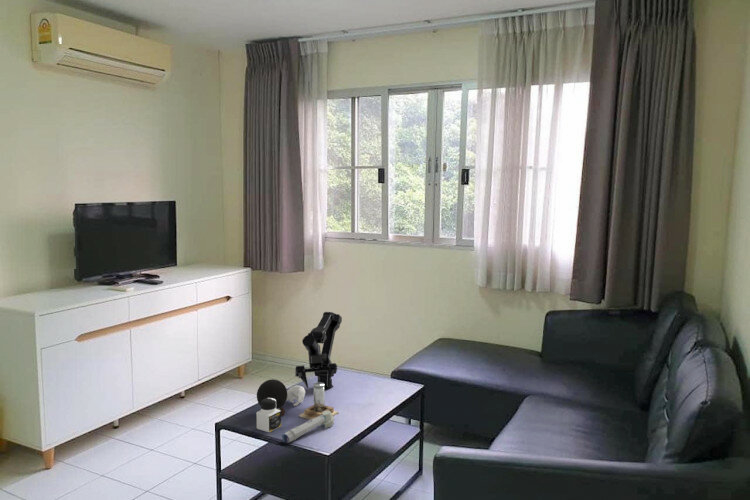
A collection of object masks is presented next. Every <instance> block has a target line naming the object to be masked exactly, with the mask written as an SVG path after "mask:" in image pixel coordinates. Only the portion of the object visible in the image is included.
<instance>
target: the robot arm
mask: <svg viewBox="0 0 750 500" xmlns="http://www.w3.org/2000/svg"><path fill="white" fill-rule="evenodd" d="M321 317H322V318H321V319H320V321H319V322H318V325H316V327H314V328H312V329H311V330H310V332H308V333H307V335H305V336H304V337H303V338H302V344H303V346H304V348H305V350H306V351H307V354H308V364H309V367H305V365H296V366H295V368H294V375H295V377H298V379H300V380H301V381H302V382H303V384H304V385H305V388H306V389H309V384H308V378H307V373H314V377H317V382H322V383H324V391H328V390H329V389H332V388H334V385H333V379H332V377H334V376H335V374H337V372H338V371H337V370H338V364H337V363H335V362H333V363H332V360H331V355H332V350H333V345H334V340H335V335H336V333H337V331H338V330H339V329H340V327H341V324H342V321H343V319H342V316H341V315H340V314H338V313H335V312H333V311H324V312H323V314H322V316H321ZM320 344H322V349H321V345H320Z"/></svg>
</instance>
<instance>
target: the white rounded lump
mask: <svg viewBox="0 0 750 500" xmlns="http://www.w3.org/2000/svg"><path fill="white" fill-rule="evenodd" d="M305 395H306V390H305V388H304V386H301V385H294V386H291V387H289V389H288V390H287V399H286V402H288V401H290V403H293V406H294V407H296V406H298V405H299V404H301V403H302V402H303V401H304V399H305ZM294 400H296V402H295V401H294Z"/></svg>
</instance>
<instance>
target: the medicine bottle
mask: <svg viewBox="0 0 750 500" xmlns="http://www.w3.org/2000/svg"><path fill="white" fill-rule="evenodd" d="M281 426H282V417H281V410H278V409H276V400H275V399H273V398H265V399H263V400H262V401H261V406H260V410H258V411H257V412H256V429H257V430H260V431H263V432H266V433H271V432H274V431H275V430H277V429H279V428H280V427H281Z"/></svg>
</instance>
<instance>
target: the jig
mask: <svg viewBox="0 0 750 500" xmlns="http://www.w3.org/2000/svg"><path fill="white" fill-rule="evenodd" d="M328 410H329V411H330V412H331V415H332V416H334V417H335V416H337V415H339V411H337V410H334V407H332V406H329V405H325V404H324V411H328ZM303 411H304V412H302V413H300V414H299V417H300V418H303V419H306V420H309V421H310V420H312V419H314V418H316V417H318V416H320V415H322V413H323V412H324V411H322V412H316V411H314V404H313V405H311V406H310V407H307V408H305V409H304V410H303Z"/></svg>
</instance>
